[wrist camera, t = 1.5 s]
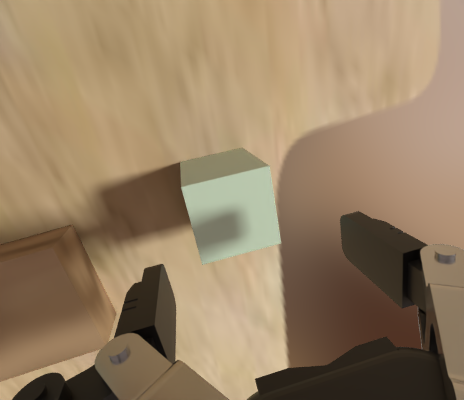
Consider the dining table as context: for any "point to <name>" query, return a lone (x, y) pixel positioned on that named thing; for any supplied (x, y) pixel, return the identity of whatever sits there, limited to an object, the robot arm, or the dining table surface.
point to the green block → (229, 204)
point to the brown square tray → (49, 303)
